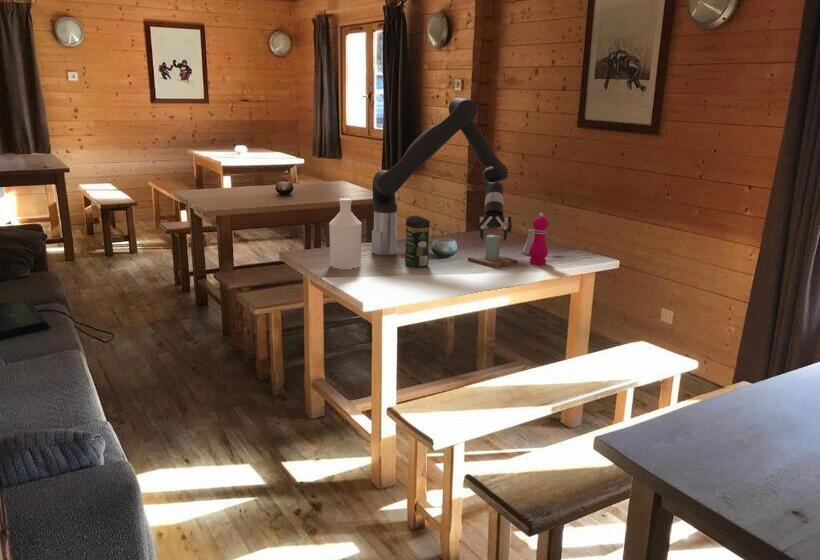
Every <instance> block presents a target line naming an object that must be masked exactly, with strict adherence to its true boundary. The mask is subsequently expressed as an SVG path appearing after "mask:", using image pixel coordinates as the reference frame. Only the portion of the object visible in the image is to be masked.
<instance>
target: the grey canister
mask: <svg viewBox="0 0 820 560" xmlns="http://www.w3.org/2000/svg"><path fill="white" fill-rule="evenodd" d="M485 238H486V240H485V241H486V242H485V254H486V256H485V258H486V259H487V260H499V256H500V248H501V247H500V246H501V235H498V234H488V235H486V237H485Z"/></svg>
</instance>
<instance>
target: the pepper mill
mask: <svg viewBox="0 0 820 560" xmlns="http://www.w3.org/2000/svg"><path fill="white" fill-rule="evenodd" d="M532 225H533V228H534V229H533V230H534V240H533V243H532V245H531V247H530V250H529V254H530V255H529V256H530V258H529V263H531V264H530V265H533V264H535V266H544V264H545V265H546V263H547V259H546V258H547V256H548V255H549V250H548V247H547V243H546V234H547V233H548V232H547V231H548V230H547V228H549V225H550V224H549V219H547V217H545V216H544V212H540V213H539V214H538V216H537V217H535V218H534V219H533V221H532Z"/></svg>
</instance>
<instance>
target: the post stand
mask: <svg viewBox="0 0 820 560" xmlns="http://www.w3.org/2000/svg"><path fill="white" fill-rule="evenodd" d="M485 256H486V253H485V254H480V255H475V256H470V257H467V261H468V260H469V262H472V263H475V262H476V264H479V263H480V264H479V265H483V266H486V265H487V267H490V266H491V267H490V268H493V267H495V268H499V266H500V267H503V266H504V265H505V266H508V265H509V264H510V265H514V263H515V264H517V263H518V259H514V258H510V257H506V256H503V255H499V260H487V259H486V258H485Z"/></svg>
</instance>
